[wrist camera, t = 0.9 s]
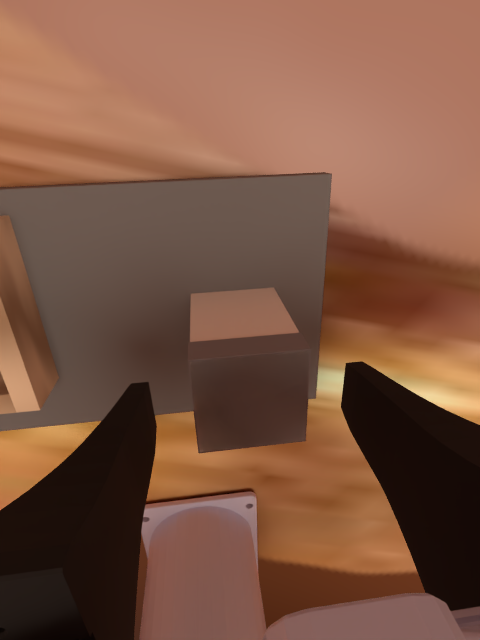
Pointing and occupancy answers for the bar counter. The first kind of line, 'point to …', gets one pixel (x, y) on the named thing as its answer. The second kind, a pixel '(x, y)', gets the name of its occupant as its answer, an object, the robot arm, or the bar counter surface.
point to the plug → (246, 370)
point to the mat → (158, 276)
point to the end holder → (21, 334)
